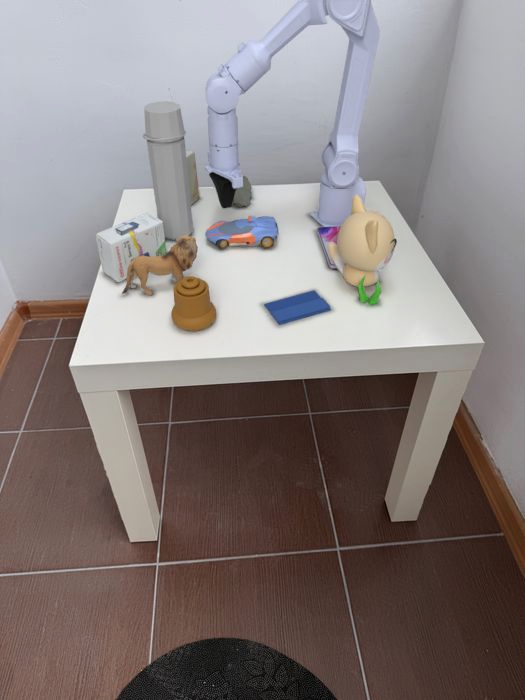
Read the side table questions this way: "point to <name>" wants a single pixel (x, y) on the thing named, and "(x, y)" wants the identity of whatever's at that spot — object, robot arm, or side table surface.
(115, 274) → the ink box
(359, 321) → the side table surface
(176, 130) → the water bottle
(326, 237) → the smartphone
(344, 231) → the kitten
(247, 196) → the stone
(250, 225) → the toy car
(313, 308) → the cloth
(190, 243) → the lion figurine
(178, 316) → the ornamental finial
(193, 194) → the box
